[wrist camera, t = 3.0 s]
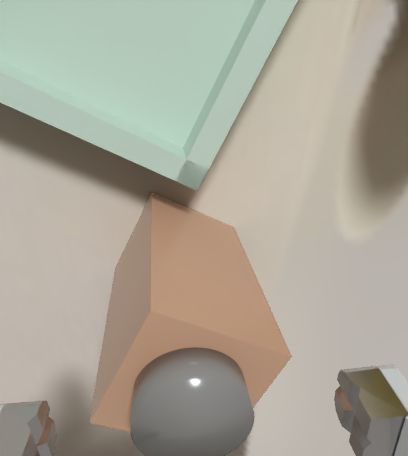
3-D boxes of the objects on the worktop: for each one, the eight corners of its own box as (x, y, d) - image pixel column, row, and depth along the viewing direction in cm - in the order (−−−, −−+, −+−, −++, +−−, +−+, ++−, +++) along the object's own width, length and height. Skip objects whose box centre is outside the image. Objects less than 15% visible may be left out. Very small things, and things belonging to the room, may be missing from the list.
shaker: (193, 295, 21) (225, 488, 12) (115, 267, 19) (82, 462, 10) (233, 227, 19) (306, 389, 10) (151, 192, 18) (149, 342, 9)
